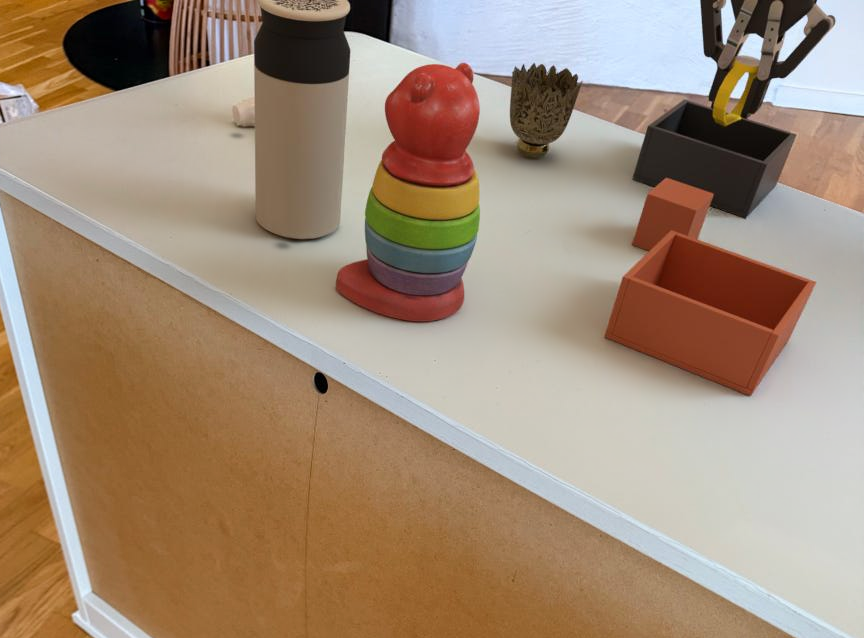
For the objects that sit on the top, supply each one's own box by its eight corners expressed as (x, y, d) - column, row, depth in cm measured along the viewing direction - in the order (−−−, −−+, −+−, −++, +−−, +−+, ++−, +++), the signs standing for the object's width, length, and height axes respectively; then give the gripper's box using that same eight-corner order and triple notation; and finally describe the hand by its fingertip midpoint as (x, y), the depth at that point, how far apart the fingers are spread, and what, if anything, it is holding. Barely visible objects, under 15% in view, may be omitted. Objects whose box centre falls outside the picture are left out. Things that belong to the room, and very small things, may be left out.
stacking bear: (416, 254, 85) (444, 33, 72) (493, 302, 81) (538, 77, 67) (325, 284, 80) (337, 53, 67) (402, 338, 76) (431, 102, 62)
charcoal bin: (776, 185, 104) (797, 134, 100) (745, 218, 98) (767, 164, 93) (668, 150, 108) (684, 99, 104) (632, 179, 101) (647, 125, 97)
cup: (493, 138, 105) (507, 59, 99) (555, 142, 106) (572, 64, 100) (506, 166, 100) (521, 85, 94) (570, 169, 102) (589, 89, 96)
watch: (731, 112, 100) (753, 50, 96) (752, 121, 99) (776, 59, 95) (700, 122, 97) (722, 59, 93) (722, 132, 96) (745, 69, 92)
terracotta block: (695, 244, 92) (714, 193, 89) (678, 261, 89) (696, 210, 86) (650, 227, 94) (666, 177, 90) (631, 244, 91) (647, 193, 87)
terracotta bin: (788, 340, 82) (816, 281, 77) (750, 396, 75) (779, 335, 71) (651, 288, 85) (671, 229, 81) (603, 337, 79) (622, 276, 75)
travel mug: (357, 226, 88) (373, 5, 74) (297, 250, 83) (303, 21, 70) (298, 195, 91) (304, -22, 77) (238, 217, 87) (232, -9, 73)
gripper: (886, -81, 85) (804, 122, 98) (742, -114, 89) (681, 84, 102) (868, -69, 80) (784, 141, 93) (717, -105, 84) (656, 101, 97)
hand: (730, 111), depth 97 cm, fingers closed on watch, 2 cm apart
